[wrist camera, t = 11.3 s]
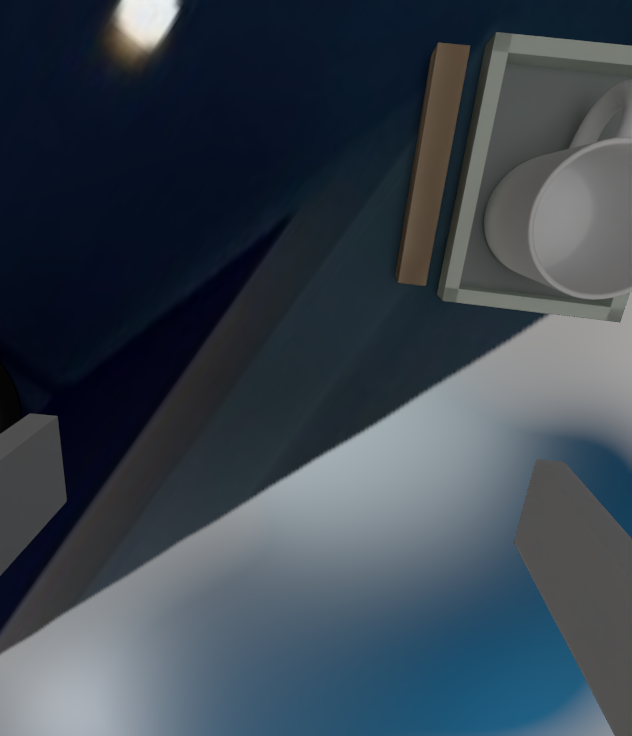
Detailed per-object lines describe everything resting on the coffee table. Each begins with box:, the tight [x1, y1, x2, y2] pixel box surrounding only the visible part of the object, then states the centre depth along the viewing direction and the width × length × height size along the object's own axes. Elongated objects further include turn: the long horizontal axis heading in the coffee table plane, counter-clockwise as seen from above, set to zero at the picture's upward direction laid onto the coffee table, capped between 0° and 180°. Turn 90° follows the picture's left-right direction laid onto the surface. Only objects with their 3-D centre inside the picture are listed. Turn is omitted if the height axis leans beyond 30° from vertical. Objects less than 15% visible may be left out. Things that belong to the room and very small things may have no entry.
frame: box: [437, 32, 632, 322], centre depth 33 cm, size 13×17×2 cm
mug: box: [484, 80, 632, 300], centre depth 30 cm, size 12×8×10 cm
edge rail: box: [395, 43, 470, 286], centre depth 34 cm, size 2×15×3 cm, turn 173°
